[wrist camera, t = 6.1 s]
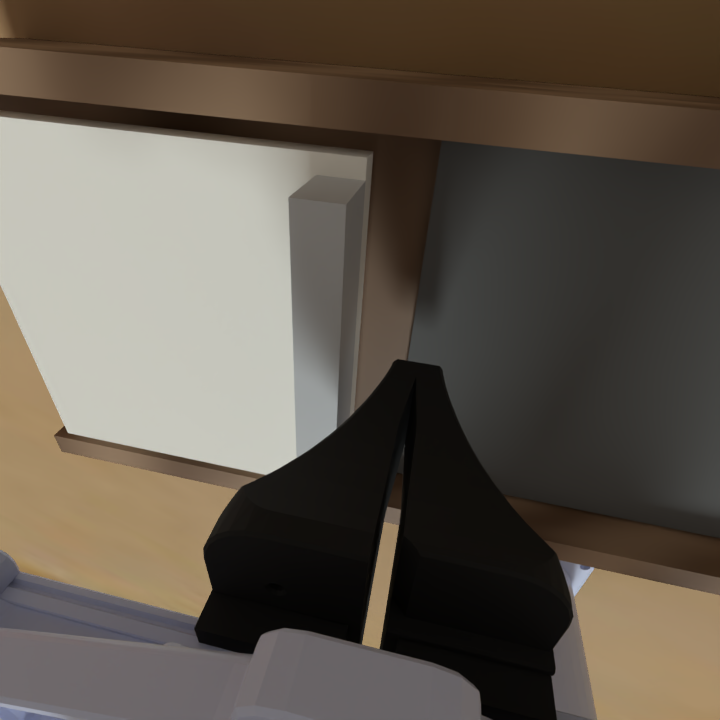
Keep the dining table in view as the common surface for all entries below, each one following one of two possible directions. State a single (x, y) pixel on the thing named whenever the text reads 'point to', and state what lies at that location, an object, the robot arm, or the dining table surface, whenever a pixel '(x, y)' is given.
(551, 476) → the panel
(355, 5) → the dining table surface
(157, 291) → the sliding door
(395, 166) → the tray
